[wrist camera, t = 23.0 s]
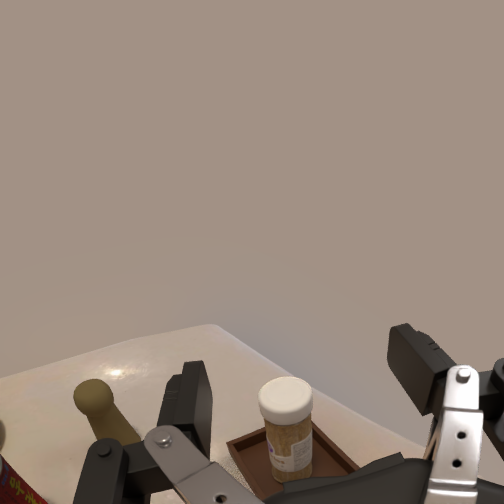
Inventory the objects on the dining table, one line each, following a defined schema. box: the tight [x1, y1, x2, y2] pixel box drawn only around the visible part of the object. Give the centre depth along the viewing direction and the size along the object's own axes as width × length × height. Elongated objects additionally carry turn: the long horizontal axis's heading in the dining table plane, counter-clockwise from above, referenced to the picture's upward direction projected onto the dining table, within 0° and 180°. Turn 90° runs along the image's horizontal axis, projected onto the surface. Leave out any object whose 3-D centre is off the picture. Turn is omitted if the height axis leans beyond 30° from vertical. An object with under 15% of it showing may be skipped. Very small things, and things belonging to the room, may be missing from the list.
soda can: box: [0, 454, 48, 504], centre depth 16 cm, size 7×7×12 cm
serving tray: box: [226, 421, 360, 501], centre depth 27 cm, size 13×10×3 cm
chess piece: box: [73, 379, 141, 446], centre depth 32 cm, size 6×6×11 cm
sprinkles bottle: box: [258, 377, 313, 484], centre depth 25 cm, size 5×5×14 cm
